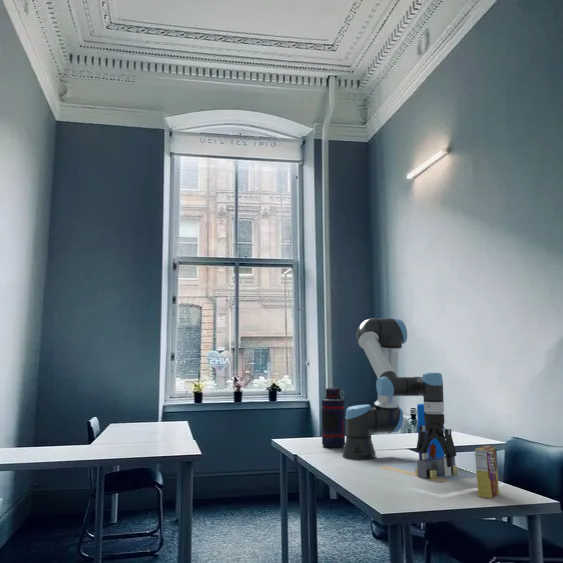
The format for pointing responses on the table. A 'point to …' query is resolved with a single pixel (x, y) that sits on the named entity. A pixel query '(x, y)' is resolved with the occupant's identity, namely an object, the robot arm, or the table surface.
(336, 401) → the dark blue bottle
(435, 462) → the bar
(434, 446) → the red-spotted blue pillar
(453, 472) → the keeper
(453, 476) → the door board
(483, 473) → the candy box
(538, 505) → the table surface
